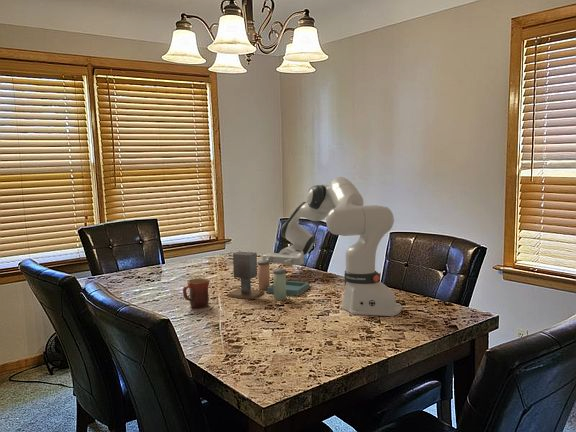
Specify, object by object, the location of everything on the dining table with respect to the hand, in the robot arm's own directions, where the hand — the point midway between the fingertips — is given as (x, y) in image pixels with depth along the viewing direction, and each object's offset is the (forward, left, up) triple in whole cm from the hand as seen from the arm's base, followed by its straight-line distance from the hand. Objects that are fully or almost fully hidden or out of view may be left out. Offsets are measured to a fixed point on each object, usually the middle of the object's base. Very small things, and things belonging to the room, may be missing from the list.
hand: (275, 262), depth 226 cm
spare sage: (-14, +26, -9) cm, 31 cm away
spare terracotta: (0, +13, -9) cm, 16 cm away
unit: (+2, +26, -9) cm, 27 cm away
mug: (+12, +48, -9) cm, 50 cm away
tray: (-12, +13, -9) cm, 20 cm away
